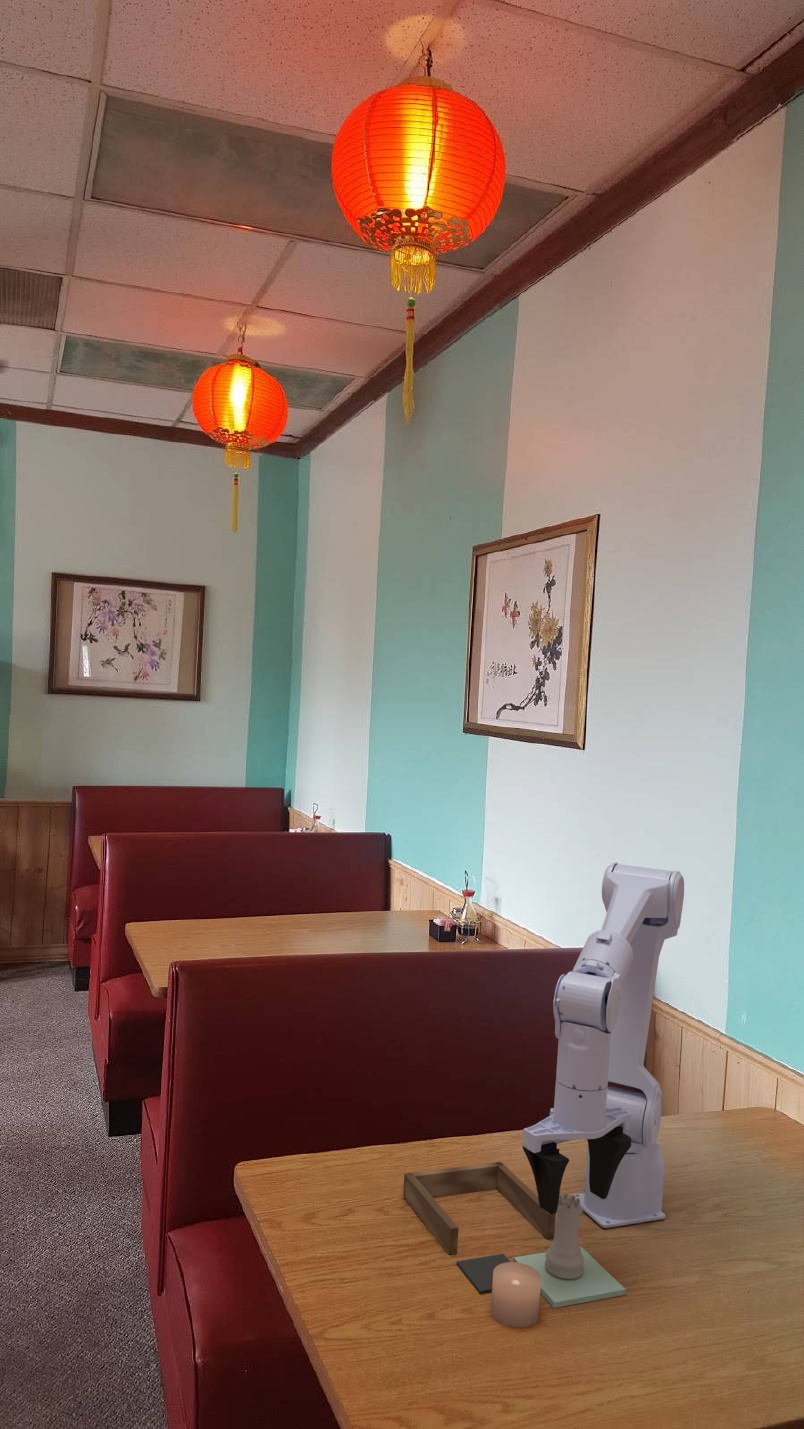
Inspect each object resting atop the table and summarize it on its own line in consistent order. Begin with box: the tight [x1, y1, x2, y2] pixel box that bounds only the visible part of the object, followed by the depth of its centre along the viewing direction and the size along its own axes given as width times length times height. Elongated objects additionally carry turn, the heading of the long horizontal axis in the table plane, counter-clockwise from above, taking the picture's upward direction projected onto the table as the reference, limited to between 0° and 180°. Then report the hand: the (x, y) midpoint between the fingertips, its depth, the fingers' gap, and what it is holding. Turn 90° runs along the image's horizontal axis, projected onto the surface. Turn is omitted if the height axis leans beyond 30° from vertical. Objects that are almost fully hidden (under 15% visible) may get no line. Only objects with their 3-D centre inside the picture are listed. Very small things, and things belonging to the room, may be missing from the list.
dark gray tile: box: [456, 1253, 511, 1295], centre depth 112 cm, size 6×6×1 cm
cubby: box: [402, 1161, 557, 1255], centre depth 125 cm, size 14×14×3 cm
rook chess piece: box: [545, 1193, 584, 1280], centre depth 113 cm, size 4×4×8 cm
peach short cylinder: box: [490, 1261, 541, 1329], centre depth 105 cm, size 5×5×4 cm
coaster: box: [512, 1246, 626, 1309], centre depth 112 cm, size 9×9×1 cm
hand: (573, 1202), depth 112 cm, fingers open, 7 cm apart
